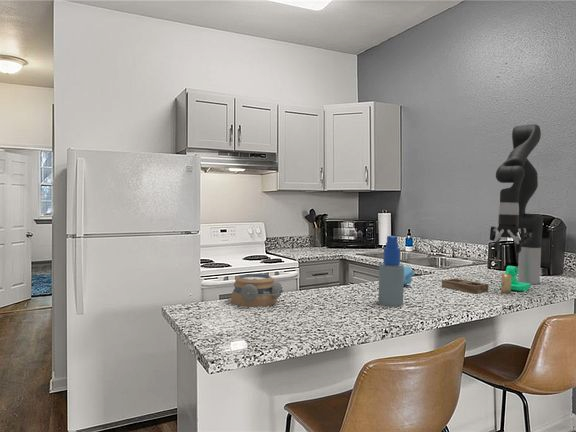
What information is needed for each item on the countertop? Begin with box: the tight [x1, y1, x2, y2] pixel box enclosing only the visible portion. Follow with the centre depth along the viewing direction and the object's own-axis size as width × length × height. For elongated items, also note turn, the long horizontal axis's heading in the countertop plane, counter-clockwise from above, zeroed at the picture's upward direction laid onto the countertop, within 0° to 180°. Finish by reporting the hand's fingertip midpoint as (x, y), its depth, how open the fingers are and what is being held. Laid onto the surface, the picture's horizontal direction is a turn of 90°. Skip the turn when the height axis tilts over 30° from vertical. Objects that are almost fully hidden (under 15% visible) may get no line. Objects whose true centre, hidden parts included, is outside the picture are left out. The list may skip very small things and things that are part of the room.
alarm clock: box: [230, 273, 285, 308], centre depth 152 cm, size 17×9×23 cm
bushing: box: [500, 272, 512, 295], centre depth 177 cm, size 4×4×8 cm
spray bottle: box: [377, 235, 405, 308], centre depth 155 cm, size 9×9×25 cm
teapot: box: [381, 262, 416, 287], centre depth 190 cm, size 18×14×10 cm
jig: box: [441, 277, 489, 295], centre depth 184 cm, size 10×16×3 cm, turn 36°
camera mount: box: [504, 265, 532, 293], centre depth 185 cm, size 12×8×10 cm, turn 129°
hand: (507, 251), depth 177 cm, fingers open, 8 cm apart
